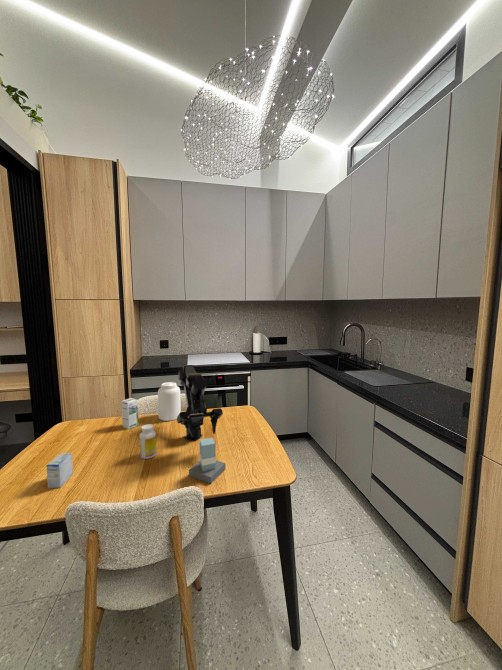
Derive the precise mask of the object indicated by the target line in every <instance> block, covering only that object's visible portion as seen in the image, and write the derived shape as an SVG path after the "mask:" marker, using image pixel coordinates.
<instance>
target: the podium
mask: <svg viewBox="0 0 502 670" xmlns="http://www.w3.org/2000/svg"><path fill="white" fill-rule="evenodd" d="M226 469H227V468H226V462H222V461H220V460H216V469H211V470H207V471H202V469H201V466H200V460H199V461H198V462H196V463H195V464H194V465H193V466H192V467H190V468H189V469H188V477H190V478H193V479H196V480H199V481H201V482H202V481H203V482H205V483H208V484H212V483H213V482H214V481H216V479H217V478H218V477H219V476H220V475H221V474H223V473H224V471H226Z"/></svg>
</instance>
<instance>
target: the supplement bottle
mask: <svg viewBox="0 0 502 670" xmlns="http://www.w3.org/2000/svg"><path fill="white" fill-rule="evenodd" d="M141 431H142V432H140V433H139V436H138V437H139V438H138V439H139V455H140V456H139V457H140V458H141V459H146V460H148V459H152V458H153V457H155V456H156V455H157V433H156V431H155V430H154V425H153V424H151V423H150V424H149V423H147V424H144V425H142V426H141Z"/></svg>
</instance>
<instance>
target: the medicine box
mask: <svg viewBox="0 0 502 670" xmlns="http://www.w3.org/2000/svg"><path fill="white" fill-rule="evenodd" d="M73 467H74V466H73V453H72V452H70V453H69V452H67V453H66V452H64V453H63V452H62V453H59V454H58V455H56V456H55V457H54V458H53V459H52V460H50V462H49V463H47V464H46V478H47V479H46V481H47V488H49V489H50V488H51V489H55V488H62V486H64V484H65V483H66V481H68V480H69V479H70V477H72V476H73V474H74V469H73Z"/></svg>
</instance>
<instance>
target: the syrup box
mask: <svg viewBox="0 0 502 670" xmlns="http://www.w3.org/2000/svg"><path fill="white" fill-rule="evenodd" d="M138 410H139V409H138V399H136V398H134V397H129V398H126V399H124V400H121V421H122V422H121V423H122V427H123V428H124V429H128V430H130V429H132V428H135V427H137V426H139V411H138Z"/></svg>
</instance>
